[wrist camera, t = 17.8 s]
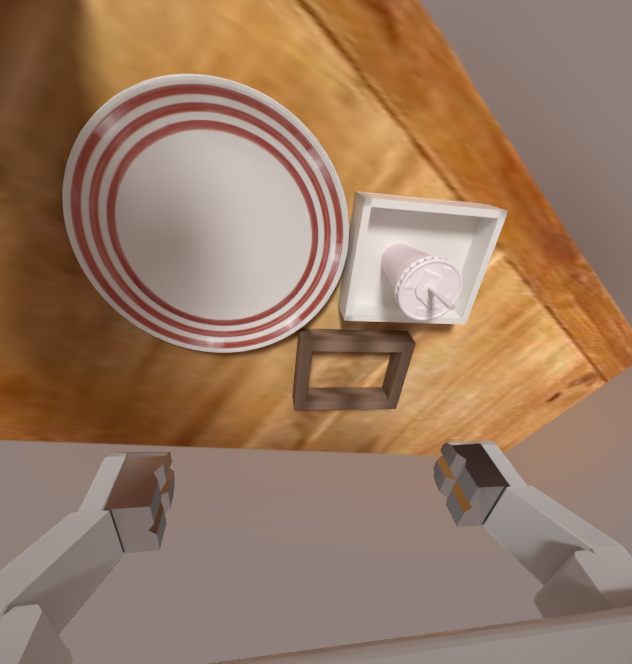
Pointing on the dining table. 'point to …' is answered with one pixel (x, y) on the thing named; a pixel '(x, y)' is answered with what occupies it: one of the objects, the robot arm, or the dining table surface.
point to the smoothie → (422, 281)
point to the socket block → (351, 342)
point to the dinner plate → (205, 213)
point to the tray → (419, 233)
